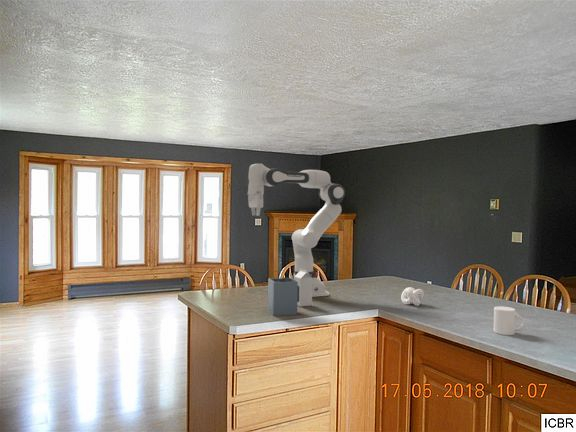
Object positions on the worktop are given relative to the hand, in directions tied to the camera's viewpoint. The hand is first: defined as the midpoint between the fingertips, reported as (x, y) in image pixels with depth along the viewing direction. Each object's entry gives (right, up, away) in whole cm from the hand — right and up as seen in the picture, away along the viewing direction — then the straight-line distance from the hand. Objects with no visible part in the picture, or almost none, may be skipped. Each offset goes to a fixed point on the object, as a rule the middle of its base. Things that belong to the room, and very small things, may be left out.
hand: (255, 215), depth 256 cm
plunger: (+16, -45, -36) cm, 59 cm away
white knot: (+87, -49, -13) cm, 101 cm away
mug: (+112, -50, -68) cm, 140 cm away
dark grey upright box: (+17, -48, -35) cm, 62 cm away
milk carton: (+27, -48, -18) cm, 58 cm away
